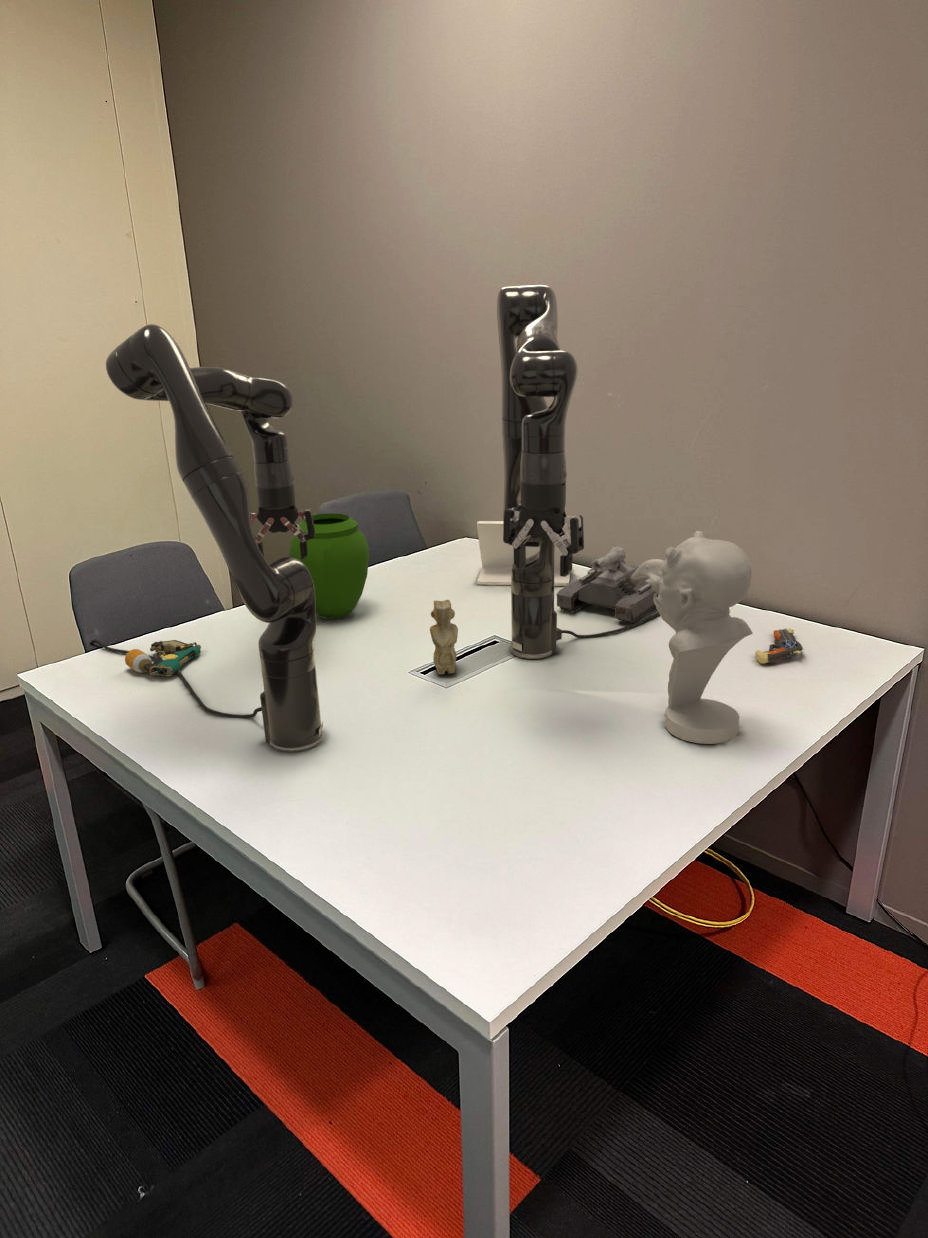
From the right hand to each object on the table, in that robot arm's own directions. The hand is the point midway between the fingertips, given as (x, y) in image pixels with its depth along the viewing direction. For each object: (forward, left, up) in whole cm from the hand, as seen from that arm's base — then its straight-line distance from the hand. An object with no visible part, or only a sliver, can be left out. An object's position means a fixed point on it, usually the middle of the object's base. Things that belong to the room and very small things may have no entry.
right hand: (542, 571), depth 146 cm
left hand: (+44, -42, -6) cm, 61 cm away
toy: (-36, -56, -29) cm, 73 cm away
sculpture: (+13, -28, -29) cm, 42 cm away
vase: (+34, -69, -29) cm, 82 cm away
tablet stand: (-20, -86, -29) cm, 93 cm away
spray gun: (+72, -47, -29) cm, 90 cm away
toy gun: (-58, -20, -29) cm, 68 cm away
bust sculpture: (-24, +6, -29) cm, 39 cm away
